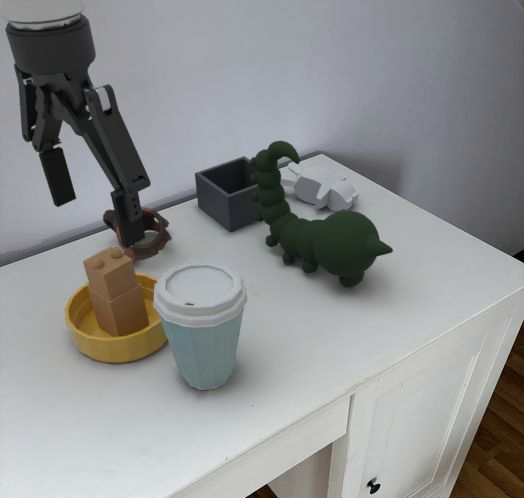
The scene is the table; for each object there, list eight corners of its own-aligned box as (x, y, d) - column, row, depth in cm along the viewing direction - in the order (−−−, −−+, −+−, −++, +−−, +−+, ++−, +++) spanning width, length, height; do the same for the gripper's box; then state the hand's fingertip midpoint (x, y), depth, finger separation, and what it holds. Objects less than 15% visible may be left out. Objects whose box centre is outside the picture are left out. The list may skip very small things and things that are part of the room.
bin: (198, 207, 102) (194, 173, 97) (245, 189, 106) (244, 155, 101) (230, 232, 95) (228, 197, 91) (279, 212, 100) (279, 178, 95)
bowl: (52, 332, 78) (43, 307, 75) (133, 284, 86) (128, 260, 83) (114, 381, 72) (106, 356, 68) (196, 325, 79) (193, 300, 76)
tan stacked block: (96, 325, 78) (75, 253, 70) (125, 307, 81) (108, 236, 73) (120, 343, 76) (101, 270, 67) (149, 324, 78) (134, 252, 70)
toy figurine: (245, 258, 93) (368, 316, 79) (231, 144, 81) (375, 188, 66) (284, 235, 98) (407, 286, 83) (277, 124, 85) (420, 161, 71)
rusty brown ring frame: (183, 236, 96) (179, 212, 88) (160, 284, 93) (154, 263, 85) (118, 210, 96) (108, 184, 88) (93, 257, 94) (81, 234, 86)
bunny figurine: (342, 201, 94) (268, 169, 99) (337, 227, 98) (265, 194, 103) (368, 178, 100) (296, 148, 105) (361, 203, 104) (293, 173, 108)
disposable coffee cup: (180, 340, 77) (165, 247, 66) (258, 348, 75) (255, 255, 65) (157, 399, 69) (136, 305, 59) (243, 409, 68) (237, 315, 57)
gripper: (166, 32, 47) (193, 246, 62) (12, -10, 60) (65, 176, 75) (92, 55, 43) (140, 277, 58) (-57, 5, 56) (14, 198, 71)
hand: (98, 221), depth 66 cm, fingers open, 13 cm apart
